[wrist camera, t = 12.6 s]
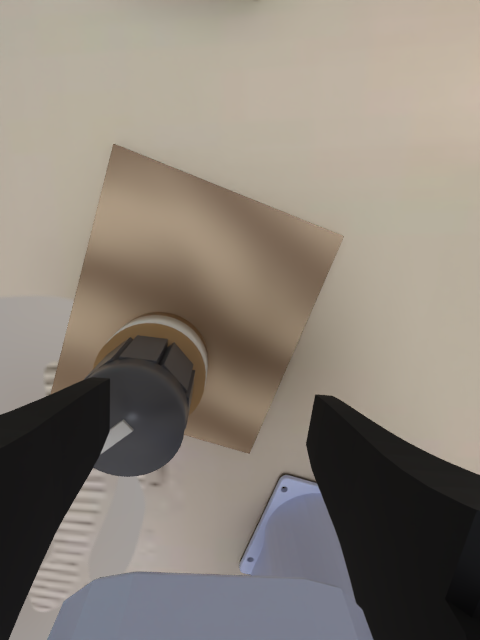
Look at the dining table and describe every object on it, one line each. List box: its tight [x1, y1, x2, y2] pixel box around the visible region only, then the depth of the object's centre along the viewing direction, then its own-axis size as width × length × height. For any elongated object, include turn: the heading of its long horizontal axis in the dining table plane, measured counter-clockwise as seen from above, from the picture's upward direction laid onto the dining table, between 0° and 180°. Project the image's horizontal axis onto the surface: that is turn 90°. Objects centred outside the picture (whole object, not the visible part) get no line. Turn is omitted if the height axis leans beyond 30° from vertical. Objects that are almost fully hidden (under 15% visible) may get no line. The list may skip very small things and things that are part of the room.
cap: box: [84, 335, 195, 477], centre depth 15 cm, size 5×5×5 cm
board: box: [51, 144, 344, 454], centre depth 21 cm, size 16×14×1 cm
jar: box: [93, 312, 208, 415], centre depth 19 cm, size 6×6×5 cm
